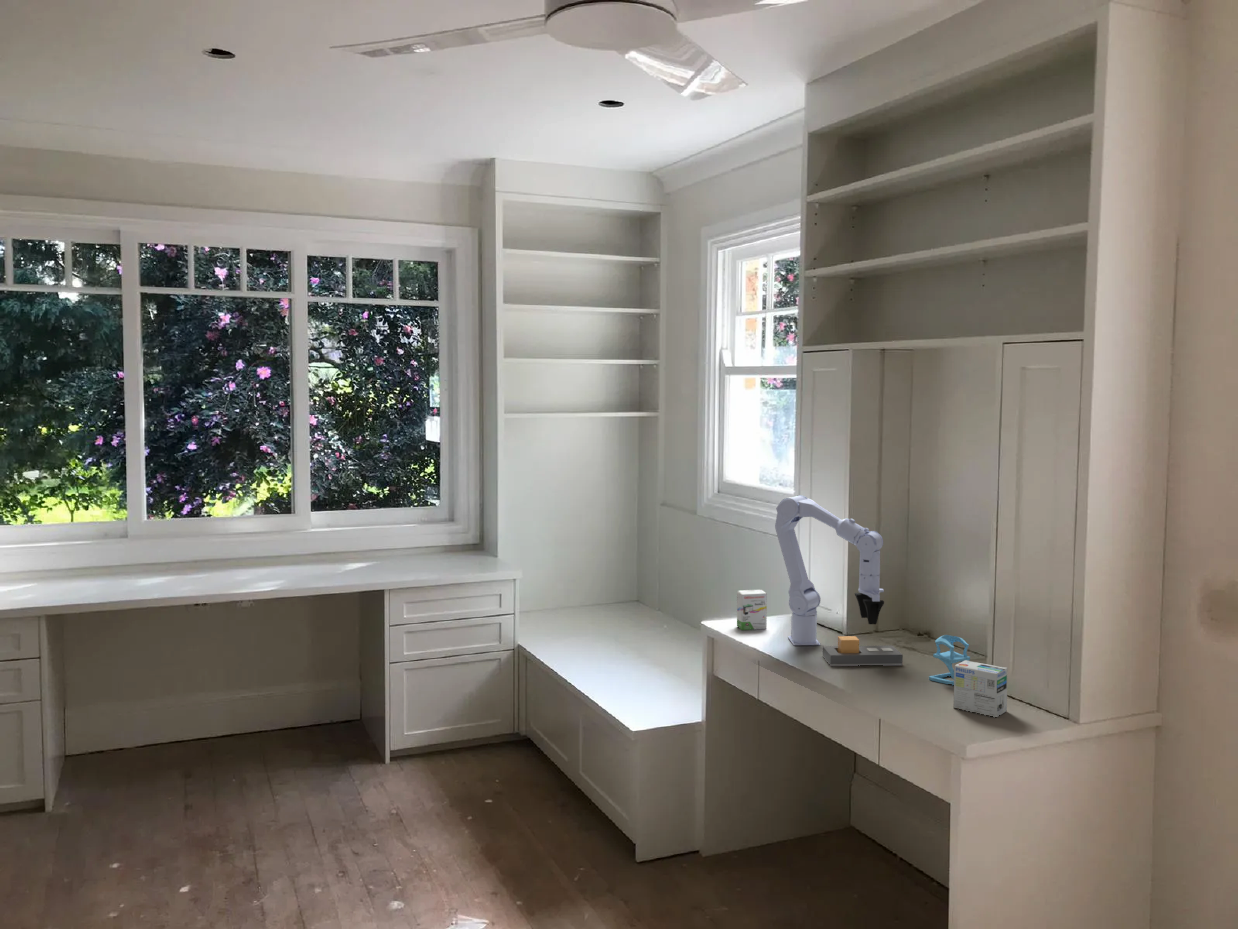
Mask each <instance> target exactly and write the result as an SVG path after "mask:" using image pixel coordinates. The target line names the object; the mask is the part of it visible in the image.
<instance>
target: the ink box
mask: <svg viewBox="0 0 1238 929" xmlns="http://www.w3.org/2000/svg"><path fill="white" fill-rule="evenodd" d="M767 595H768V594H767V592H765V591H764V590H763V589H745V590H743V589H742V590H740V589H739V590H737V591H736V627H737V626H738V627H739V628H740V630H741V631H749V630H752V629H754V630H766V629H768V628H767V621H768V620H767V618H768V617H767V616H768V614H767V613H768V612H767V611H768V609H767V607H768V606H767V604H768V603H767V602H768V596H767ZM738 627H737V628H738ZM739 628H738V629H739Z"/></svg>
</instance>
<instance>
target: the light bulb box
mask: <svg viewBox="0 0 1238 929" xmlns="http://www.w3.org/2000/svg"><path fill="white" fill-rule="evenodd" d="M953 670H954V679H953V681H954V686H953V706H952V707H953V709H954V708H959V709H963V710H962V711H964V710H966V711H965V712H968V711H970V712H969V713H972V712H977V713H980V714H979V715H981V714H984V715H983V716H986V715H990V716H993V717H992V718H995V717H997V718H998V717H1000V716H1002V715H1003V714H1004V713H1006V712H1007V711H1008V706H1007V705H1008V667H1004V666H998V665H992V664H986V663H982V662H981V663H980V662H976V661H971V660H968V661H967V660H965V661H963V662H961V661H960V662H959V663H957V664H956V663H955V665H954V666H953ZM959 709H958V710H959ZM977 713H976V714H977ZM999 715H1000V716H999ZM990 716H989V717H990Z"/></svg>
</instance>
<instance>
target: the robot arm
mask: <svg viewBox="0 0 1238 929" xmlns="http://www.w3.org/2000/svg"><path fill="white" fill-rule="evenodd" d="M776 513H777V514H776V518H775V524H774V528H775V532H776V536H777V540H778V543H779V547H780V550H781V554H782V557H783V561H784V564H785V568H786V571H787V575H788V578H789V582H790V585H789V588H788V595H789V600H788V606H789V609H790V610H791V613H792V614H791V617H790V618H791V619H790V635H787V639H788V640H789V641H790V642H791V643H792V645H793V646H821V643H820V641H819V640H818V639H817V633H818V632H817V629H818V627H817V626H818V624H817V622H818V614H817V613H818V611H817V610H818V609H817V608H819V606H820V604H821V596H820V593H819V591H817V589H816V588H815V585H814V583H813V582H812V581H811V580H810V579H809V578H808V573H807V570H806V566H805V563H804V559H803V556H802V552H801V549H800V545H799V542H798V538H797V534H796V531H795V527H796V526H798V525H797V524H798V523H799V522H800V520H802V519H803V518H814V519H815V520H818V521H819V522H821V523H823V524H825V525H827V526H829V527H830V528H833V529H834V530H835V532H836V533H835V534H836V535H837V536H839V537H840V538H841V539H843V540H845V541H847V542H849V543H850V544H852V545H854V546H855V547H856V549H857V551H859V570H858V572H859V573H858V574H859V575H858V576H859V577H858V589H857V591H858V592H855V593H854V596H855V598H856V600H857V603H858V607H859V608H858V609H859V614H860V617H861V618H862V619H866V620H867V624H868V625H876V624H878V620H879V615H880V612H881V609H882V607H883V606H884V604H885V601H884V600H880V599H881V593H884V592H885V591H884V588H880V587H881V586H880V585H881V584H880V581H881V579H880V578H881V549H882V547H883V546H884V539H883V536H882V535H881V534H880V533H879V532H878V531H877V530H870V528H868V527H864V526H861V525H860V524H858V523H856V520H855V519H853V518H843V519H841V518H840V517H838V516H837V515H835V514H834V513H832V512H830V511H829V510H827V509H826V507H825V508H824V507H823V506H821V505H820V504H818V503H817V502H816V501H815V500H813V499H811V498H808V497H807V496H805V495H803V494H799V495H796V496H791V497H785V498H783V499H782V500H781V501H780V502H779V503H778V505H777V506H776Z"/></svg>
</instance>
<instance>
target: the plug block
mask: <svg viewBox="0 0 1238 929" xmlns="http://www.w3.org/2000/svg"><path fill="white" fill-rule="evenodd" d="M837 646H838V653H859V646H860V639H859V638H858V637H857V636H856V635H854V636H853V635H852V636H851V635H850V636H849V635H848V636H847V635H845V636H843V635H842V636H839V635H838V636H837Z"/></svg>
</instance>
